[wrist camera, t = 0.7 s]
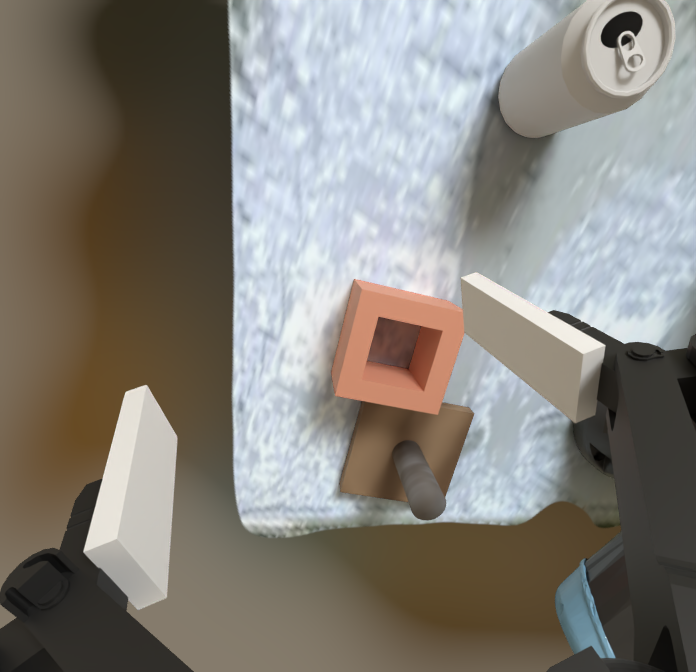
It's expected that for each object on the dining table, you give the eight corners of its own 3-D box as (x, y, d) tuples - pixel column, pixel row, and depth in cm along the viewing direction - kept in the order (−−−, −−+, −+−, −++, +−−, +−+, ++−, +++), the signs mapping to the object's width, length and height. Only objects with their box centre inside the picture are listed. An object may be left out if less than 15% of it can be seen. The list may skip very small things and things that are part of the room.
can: (559, 32, 37) (675, -52, 25) (581, 118, 39) (698, 76, 27) (482, 71, 37) (562, 5, 25) (509, 154, 39) (593, 127, 28)
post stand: (469, 407, 46) (511, 457, 36) (437, 498, 49) (469, 566, 39) (365, 387, 44) (381, 435, 35) (339, 483, 47) (348, 551, 38)
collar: (448, 300, 42) (470, 314, 37) (420, 389, 45) (437, 414, 39) (354, 279, 41) (362, 289, 35) (331, 372, 43) (334, 395, 38)
